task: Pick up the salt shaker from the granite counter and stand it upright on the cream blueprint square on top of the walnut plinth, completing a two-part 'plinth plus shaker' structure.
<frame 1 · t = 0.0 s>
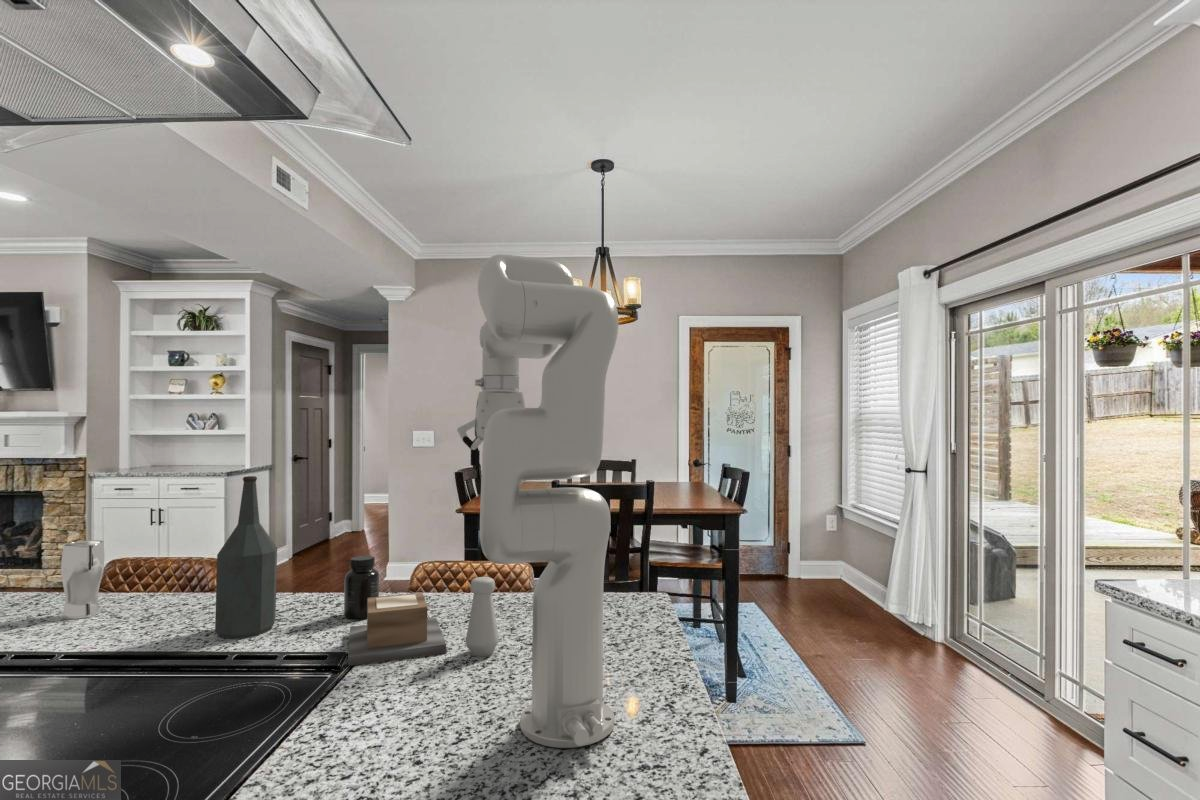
hand: (499, 468, 125), 31 cm above the kitchen island, fingers open, 9 cm apart
supplement bottle: (361, 616, 128), on the kitchen island
bottle: (245, 631, 118), on the kitchen island
plinth: (396, 643, 111), on the kitchen island
salt shaker: (482, 653, 107), on the kitchen island
beer glass: (81, 616, 127), on the kitchen island
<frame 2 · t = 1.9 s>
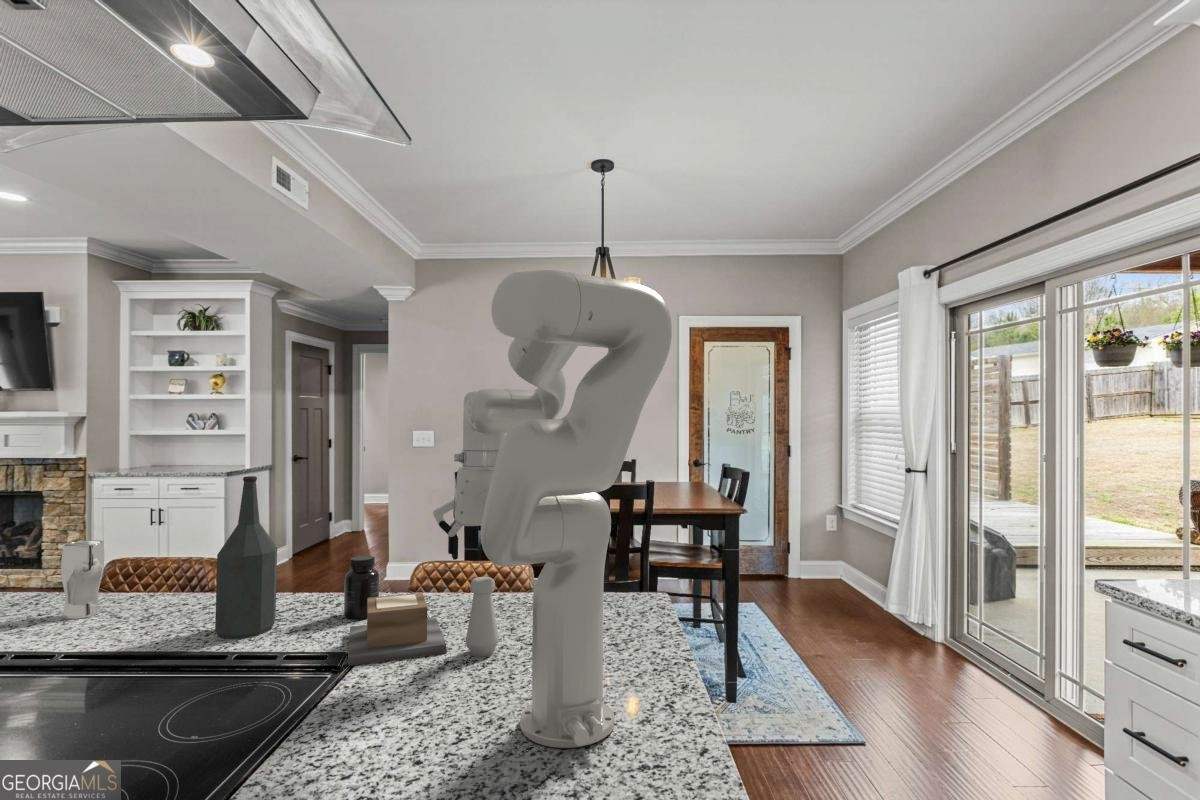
hand: (481, 555, 108), 17 cm above the kitchen island, fingers open, 9 cm apart
nothing on the kitchen island moved.
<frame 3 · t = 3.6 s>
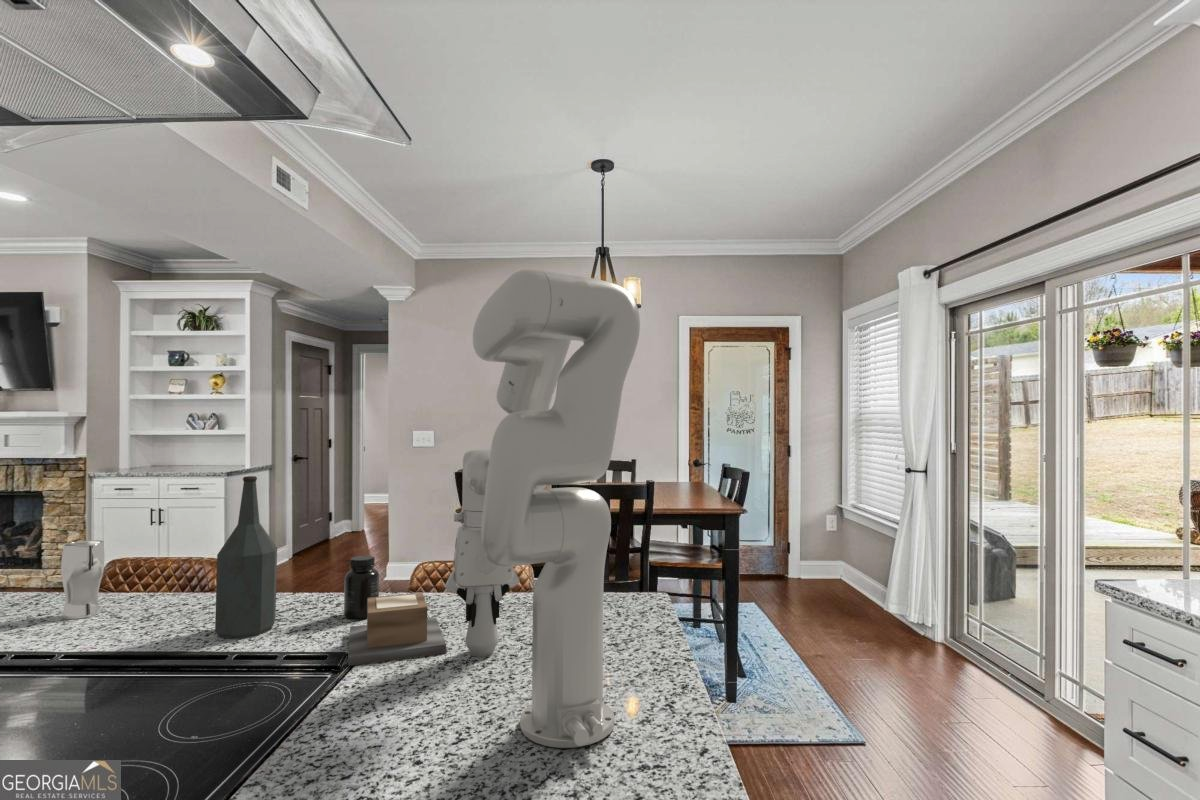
hand: (482, 622, 107), 5 cm above the kitchen island, fingers closed on salt shaker, 3 cm apart
salt shaker: (482, 653, 107), on the kitchen island, touching gripper
everything else where it was.
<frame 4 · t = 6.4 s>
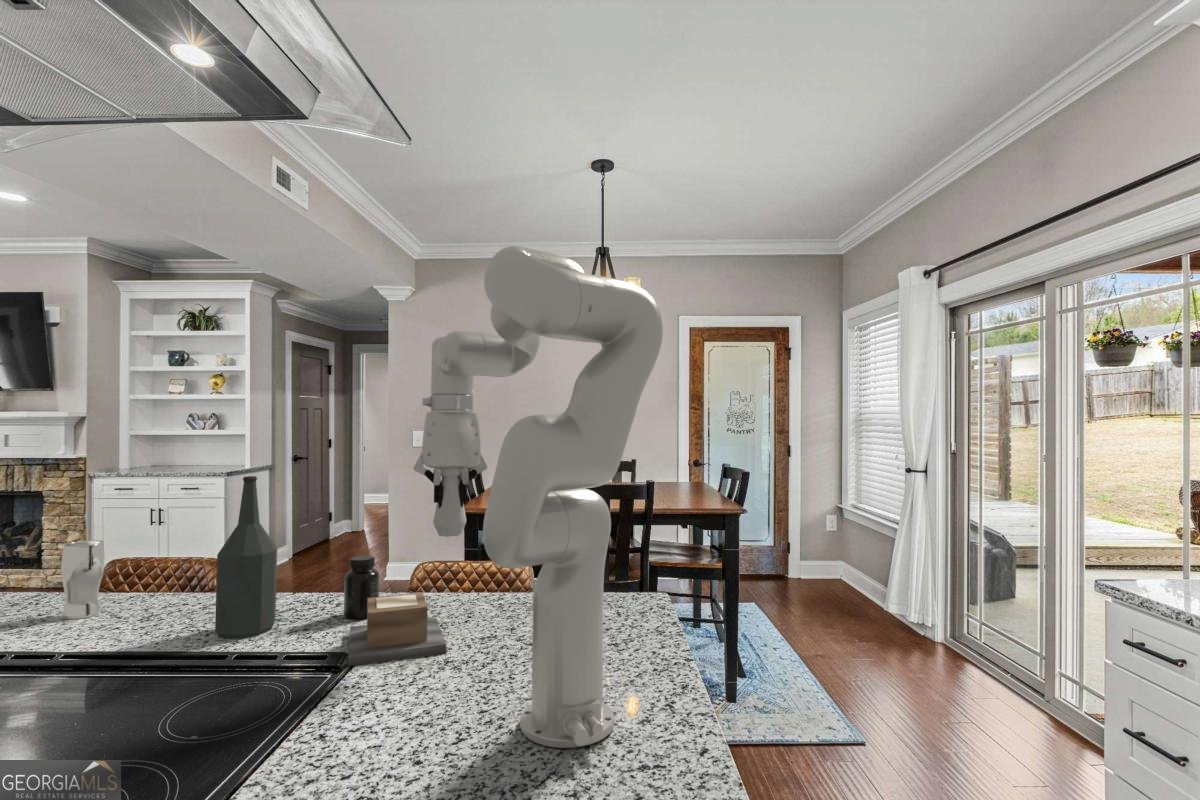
hand: (450, 505, 110), 26 cm above the kitchen island, fingers closed on salt shaker, 3 cm apart
salt shaker: (449, 535, 110), point 20 cm above the kitchen island, touching gripper
everything else where it was.
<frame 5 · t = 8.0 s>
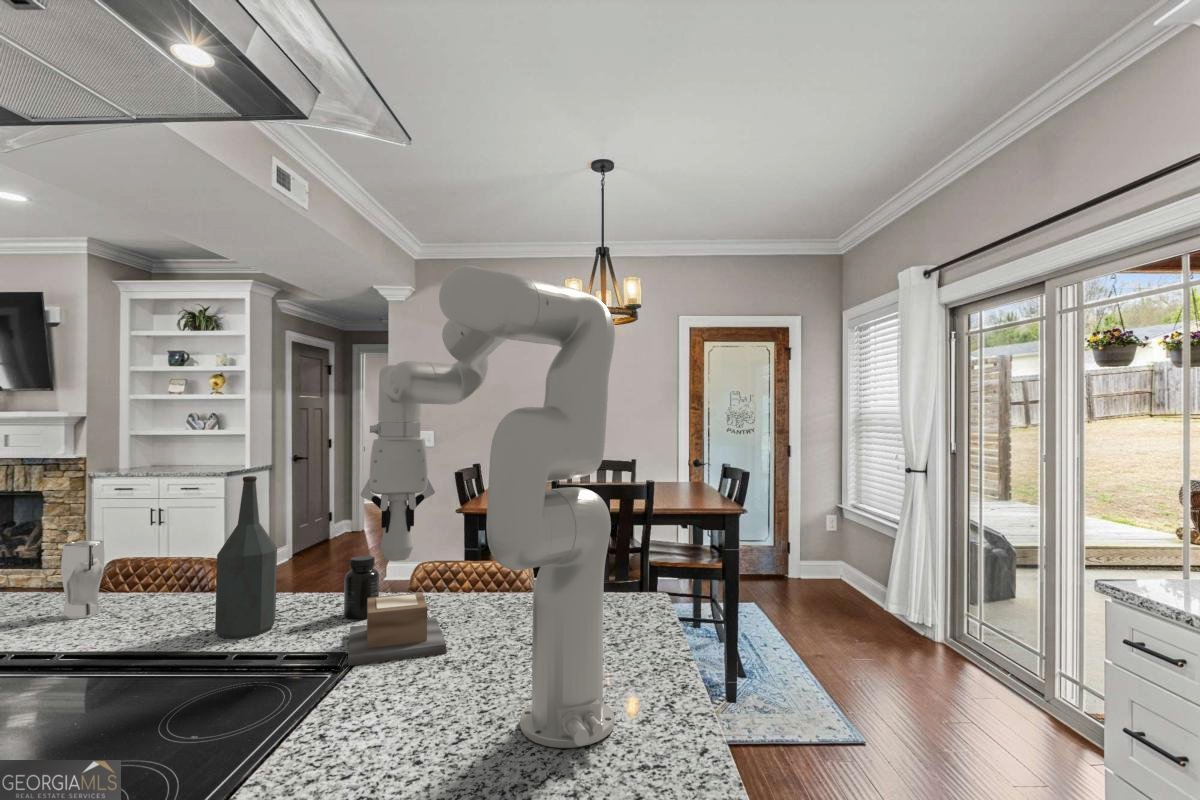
hand: (397, 530, 112), 21 cm above the kitchen island, fingers closed on salt shaker, 3 cm apart
salt shaker: (397, 559, 112), point 15 cm above the kitchen island, touching gripper
everything else where it was.
when the fingers open (14 cm above the kitchen island, at t = 9.4 s): salt shaker stays where it is, resting on plinth.
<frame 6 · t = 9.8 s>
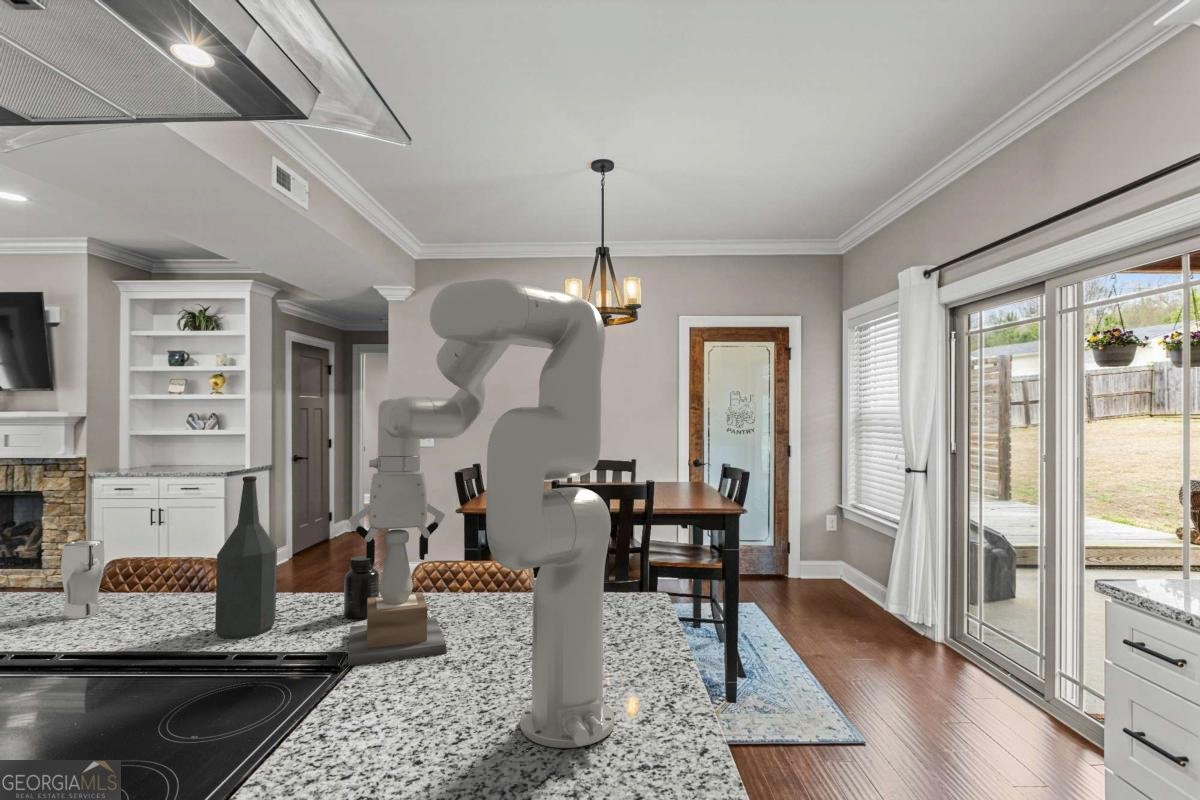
hand: (397, 559, 112), 15 cm above the kitchen island, fingers open, 8 cm apart
salt shaker: (395, 602, 111), point 8 cm above the kitchen island, touching plinth
everything else where it was.
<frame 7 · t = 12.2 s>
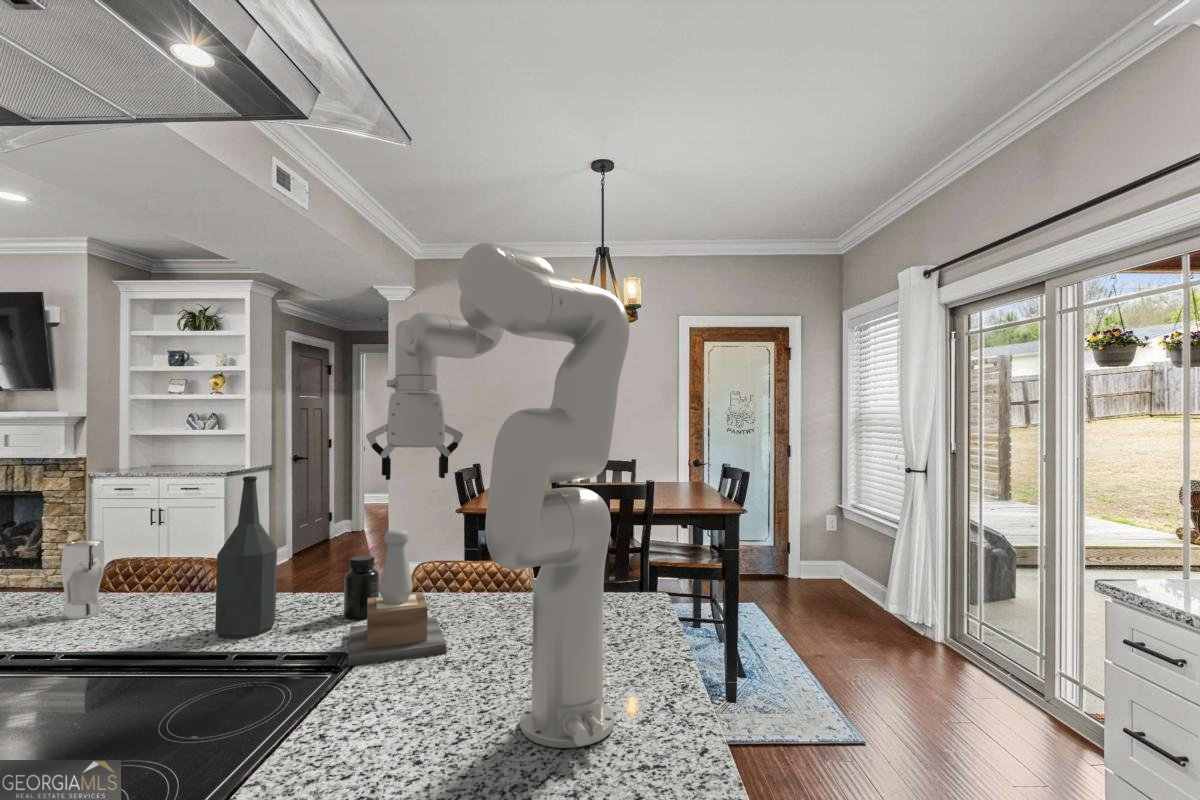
hand: (415, 478, 112), 30 cm above the kitchen island, fingers open, 9 cm apart
nothing on the kitchen island moved.
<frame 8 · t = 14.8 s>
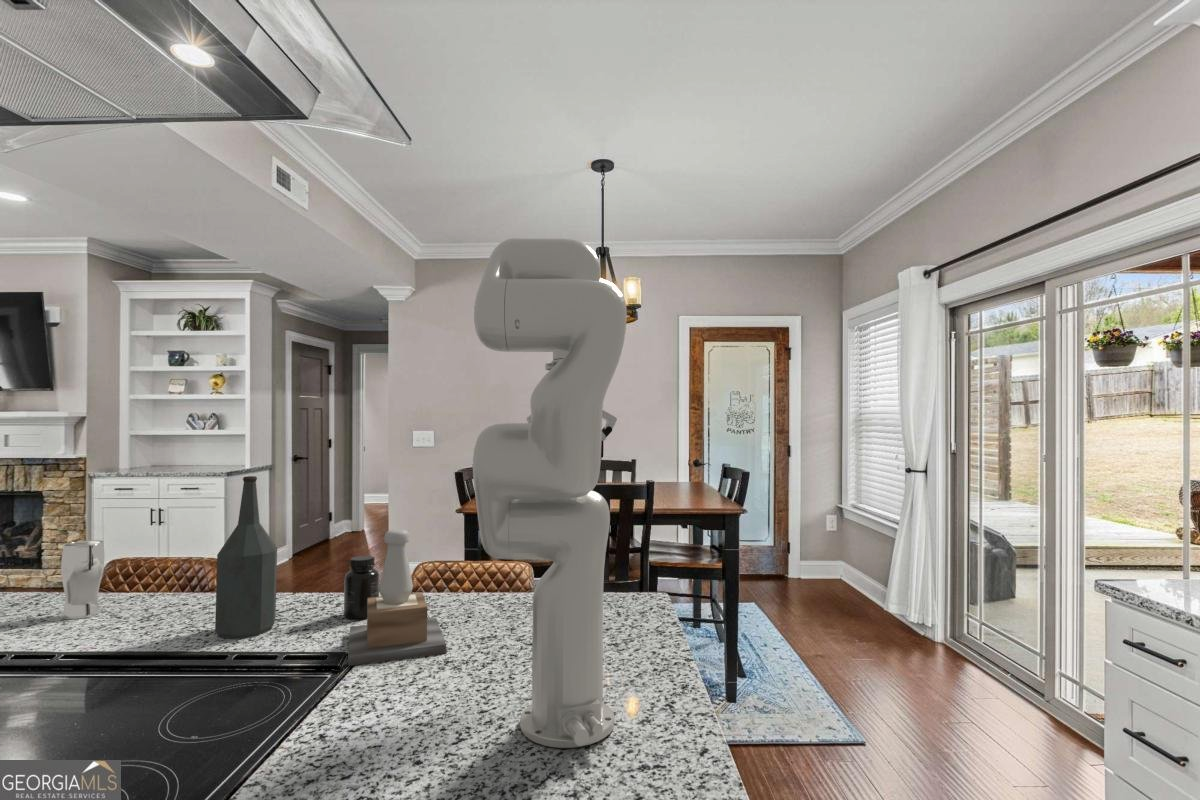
hand: (572, 462, 112), 33 cm above the kitchen island, fingers open, 9 cm apart
nothing on the kitchen island moved.
at the end: salt shaker 0.2 cm off-centre on the plinth, point 7.5 cm above the plinth's base; salt shaker tilted 0°; the gripper is holding nothing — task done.
